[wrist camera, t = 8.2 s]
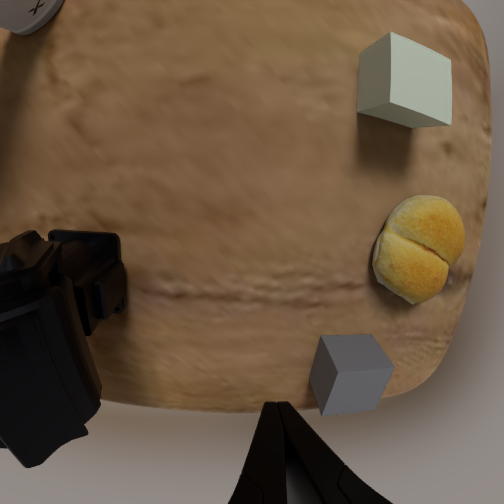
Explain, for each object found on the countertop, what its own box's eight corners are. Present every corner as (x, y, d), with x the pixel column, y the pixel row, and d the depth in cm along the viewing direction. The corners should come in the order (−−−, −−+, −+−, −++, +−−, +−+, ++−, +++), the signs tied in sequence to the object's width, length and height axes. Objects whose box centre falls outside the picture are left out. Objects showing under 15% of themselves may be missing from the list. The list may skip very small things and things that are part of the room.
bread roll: (461, 222, 22) (490, 233, 18) (413, 303, 24) (436, 325, 20) (406, 170, 20) (437, 175, 16) (351, 266, 22) (373, 287, 18)
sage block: (356, 112, 18) (389, 101, 14) (359, 53, 17) (390, 31, 12) (411, 128, 19) (451, 125, 14) (413, 72, 17) (450, 59, 12)
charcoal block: (308, 377, 25) (321, 416, 20) (320, 334, 24) (338, 372, 19) (356, 375, 26) (374, 409, 21) (371, 333, 24) (394, 367, 19)
